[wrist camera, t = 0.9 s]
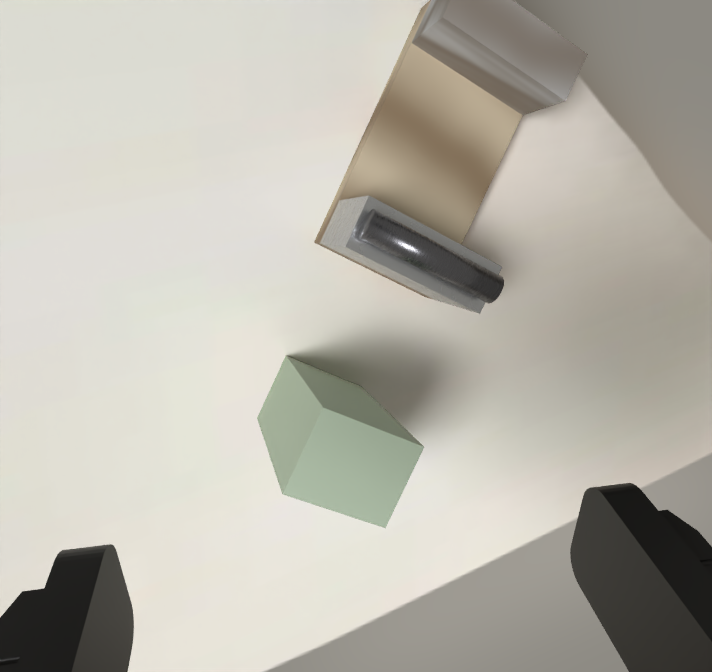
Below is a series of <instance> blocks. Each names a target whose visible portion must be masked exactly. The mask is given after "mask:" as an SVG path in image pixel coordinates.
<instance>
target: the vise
mask: <svg viewBox="0 0 712 672" xmlns="http://www.w3.org/2000/svg"><path fill="white" fill-rule="evenodd" d="M586 57H587V54H586V53H585V52H584V51H582V50H581V49H579V48H578V47H577V46H575V45H574V44H573V43H571V42H570V41H569V40H567V39H566V38H564V37H563V36H562V35H560V34H559V33H558V32H556V31H555V30H553V29H552V28H551V27H549V26H548V25H547V24H545V23H544V22H542V21H541V20H540V19H538V18H537V17H536V16H534V15H533V14H531V13H530V12H529V11H527V10H526V9H525V8H523V7H522V6H520V5H519V4H518V3H516V2H515V1H514V0H430V1H429V2H428V3H426V4H425V5H424V6H423V7H422V8H421V10H420V12H419V15H418V17H417V19H416V21H415V23H414V25H413V28H412V30H411V32H410V34H409V36H408V39H407V41H406V43H405V45H404V47H403V50H402V52H401V54H400V56H399V58H398V60H397V63H396V65H395V67H394V69H393V71H392V74H391V76H390V78H389V80H388V82H387V84H386V87H385V89H384V91H383V93H382V95H381V98H380V100H379V102H378V104H377V106H376V108H375V111H374V113H373V115H372V117H371V119H370V122H369V124H368V126H367V128H366V130H365V133H364V135H363V137H362V139H361V141H360V143H359V146H358V148H357V150H356V152H355V154H354V157H353V159H352V161H351V163H350V165H349V167H348V170H347V172H346V174H345V176H344V178H343V181H342V183H341V185H340V187H339V189H338V191H337V194H336V196H335V198H334V200H333V202H332V205H331V207H330V209H329V211H328V213H327V216H326V218H325V220H324V222H323V224H322V226H321V229H320V231H319V233H318V235H317V237H316V240H315V242H314V243H316V244H319V245H321V246H323V247H325V248H327V249H329V250H331V251H333V252H335V253H337V254H339V255H341V256H343V257H345V258H347V259H349V260H351V261H353V262H355V263H357V264H359V265H361V266H363V267H365V268H367V269H369V270H372V271H374V272H376V273H378V274H380V275H382V276H384V277H386V278H388V279H390V280H392V281H394V282H396V283H398V284H400V285H402V286H404V287H406V288H408V289H410V290H412V291H414V292H416V293H418V294H420V295H422V296H425V297H427V298H430V297H428V296H426V295H424V294H422V293H420V292H418V291H416V290H414V289H412V288H410V287H408V286H406V285H404V284H402V283H400V282H398V281H396V280H394V279H392V278H390V277H388V276H385V275H383V274H381V273H379V272H377V271H375V270H373V269H371V268H369V267H367V266H365V265H363V264H361V263H359V262H357V261H355V260H353V259H351V258H349V257H347V256H345V255H343V254H341V253H339V252H337V251H335V250H333V249H331V248H329V247H327V246H324V245H322V244H320V242H321V239H322V237H323V235H324V233H325V231H326V229H327V226H328V224H329V222H330V220H331V218H332V215H333V213H334V211H335V209H336V207H337V205H338V202H339V200H344V199H350V198H356V197H362V196H368V195H369V196H371V197H373V198H375V199H377V200H379V201H381V202H382V203H384V204H386V205H388V206H390V207H392V208H394V209H395V210H397V211H399V212H401V213H403V214H405V215H407V216H408V217H410V218H412V219H414V220H416V221H418V222H420V223H422V224H423V225H425V226H427V227H429V228H431V229H433V230H435V231H436V232H438V233H440V234H442V235H444V236H446V237H448V238H449V239H451V240H453V241H455V242H457V243H459V244H462V242H463V240H464V238H465V236H466V234H467V232H468V229H469V227H470V225H471V223H472V221H473V219H474V217H475V215H476V212H477V210H478V208H479V206H480V204H481V202H482V200H483V198H484V196H485V193H486V191H487V189H488V187H489V185H490V183H491V181H492V179H493V177H494V174H495V172H496V170H497V168H498V166H499V164H500V162H501V160H502V158H503V155H504V153H505V151H506V149H507V147H508V145H509V143H510V141H511V138H512V136H513V134H514V132H515V130H516V128H517V126H518V124H519V122H520V119H521V117H522V115H525V114H528V113H531V112H534V111H537V110H540V109H543V108H546V107H549V106H552V105H555V104H558V103H561V102H564V101H566V99H567V97H568V95H569V92H570V90H571V88H572V86H573V84H574V82H575V80H576V78H577V76H578V74H579V71H580V69H581V67H582V65H583V63H584V61H585V59H586ZM431 299H432V298H431Z"/></svg>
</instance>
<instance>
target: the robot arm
mask: <svg viewBox="0 0 712 672" xmlns="http://www.w3.org/2000/svg"><path fill="white" fill-rule="evenodd" d="M570 553H571V563H572V568H573V572H574V575H575V578H576V579H577V582H578V584H579V586H580V588H581V589H582V591H583V593H584V595H585V596H586V598H587V600H588V601H589V603H590V605H591V607H592V608H593V610H594V611H595V614H596V615H597V617H598V619H599V620H600V622H601V624H602V626H603V627H604V629H605V631H606V633H607V634H608V636H609V638H610V639H611V641H612V643H613V645H614V646H615V648H616V650H617V651H618V653H619V655H620V657H621V658H622V660H623V662H624V664H625V665H626V667H627V669H628V670H629V672H712V547H711V546H710V545H709V543H708V542H707V541H706V540H705V539H704V538H703V536H702V535H701V534H700V533H699V532H698V531H697V530H695V529H694V528H693V527H691V526H690V525H689V524H687V523H686V522H684V521H683V520H681V519H680V518H678V517H677V516H675V515H674V514H673V513H671V512H669V511H668V510H662V511H658V510H657V509H656V507H655V506H654V505H653V504H652V503H651V501H650V500H649V499H648V498H647V497H646V495H645V494H644V493H643V492H642V491H641V490H640V489H639V488H638V487H637V486H636V485H634V484H631V483H626V484H617V485H609V486H601V487H593V488H589V489H587V490H586V491H585V493H584V496H583V500H582V504H581V508H580V512H579V516H578V520H577V524H576V528H575V532H574V536H573V541H572V545H571V552H570ZM133 631H134V620H133V609H132V604H131V601H130V597H129V594H128V590H127V587H126V583H125V580H124V576H123V573H122V569H121V566H120V562H119V559H118V555H117V552H116V549H115V547H114V546H113V545H111V544H110V545H102V546H94V547H86V548H77V549H69V550H62V551H61V552H59V554H58V555H57V557H56V559H55V561H54V564H53V566H52V569H51V572H50V575H49V577H48V580H47V583H46V586H45V588H44V589H38V590H31V591H23V592H22V593H21V594H20V595H19V596H18V597H17V599H16V600H15V601H14V602H13V603H12V604H11V606H10V607H9V608H8V609H7V610H6V612H5V613H4V614H3V615H2V616H1V618H0V672H127V671H128V666H129V660H130V655H131V650H132V643H133Z"/></svg>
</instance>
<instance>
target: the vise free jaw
mask: <svg viewBox="0 0 712 672" xmlns="http://www.w3.org/2000/svg"><path fill="white" fill-rule="evenodd" d="M320 244H322V245H324V246H327V247H329V248H331V249H333V250H335V251H337V252H339V253H341V254H343V255H345V256H347V257H349V258H351V259H353V260H355V261H357V262H359V263H361V264H363V265H365V266H367V267H369V268H371V269H373V270H375V271H377V272H379V273H381V274H383V275H385V276H388V277H390V278H392V279H394V280H396V281H398V282H400V283H402V284H404V285H406V286H408V287H410V288H412V289H414V290H416V291H418V292H420V293H422V294H424V295H426V296H428V297H430V298H432V299H434V300H437V301H440V302H443V303H447V304H450V305H453V306H456V307H460V308H463V309H466V310H469V311H473V312H476V313H479V314H480V312H481V310H482V308H483V306H484V304H485V302H486V303H492V302H493V301H495V300H496V299H497V298H498V296H499V295H500V293H501V291H502V289H503V286H504V279H503V277H501V276H499V273H500V271H501V268H502V267H501V266H500V265H498V264H496V263H494V262H492V261H490V260H488V259H487V258H485V257H483V256H481V255H479V254H477V253H475V252H474V251H472V250H470V249H468V248H466V247H464V246H462V245H461V244H459V243H457V242H455V241H453V240H451V239H449V238H448V237H446V236H444V235H442V234H440V233H438V232H436V231H435V230H433V229H431V228H429V227H427V226H425V225H423V224H422V223H420V222H418V221H416V220H414V219H412V218H410V217H408V216H407V215H405V214H403V213H401V212H399V211H397V210H395V209H394V208H392V207H390V206H388V205H386V204H384V203H382V202H381V201H379V200H377V199H375V198H373V197H371V196H369V195H368V196H362V197H356V198H350V199H344V200H339V202H338V205H337V207H336V209H335V211H334V213H333V215H332V218H331V220H330V222H329V224H328V226H327V229H326V231H325V233H324V235H323V237H322V239H321V242H320Z"/></svg>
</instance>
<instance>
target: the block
mask: <svg viewBox="0 0 712 672" xmlns="http://www.w3.org/2000/svg"><path fill="white" fill-rule="evenodd" d="M257 419H258V422H259V425H260V428H261V431H262V434H263V437H264V440H265V443H266V446H267V449H268V452H269V455H270V458H271V461H272V464H273V467H274V470H275V473H276V476H277V479H278V482H279V485H280V488H281V491H282V494H284V495H287V496H290V497H293V498H296V499H299V500H302V501H305V502H308V503H311V504H314V505H317V506H320V507H323V508H326V509H329V510H332V511H335V512H338V513H341V514H344V515H347V516H350V517H353V518H356V519H359V520H362V521H365V522H368V523H371V524H374V525H378V526H381V527H384V528H386V526H387V524H388V521H389V519H390V517H391V515H392V513H393V511H394V509H395V507H396V505H397V503H398V501H399V499H400V496H401V494H402V492H403V490H404V488H405V486H406V484H407V482H408V480H409V478H410V476H411V473H412V471H413V469H414V467H415V465H416V463H417V461H418V459H419V457H420V455H421V453H422V451H423V448H424V446H423V445H422V444H421V443H419V442H418V441H417V440H416V439H415V438H414V437H413V436H412V435H411V434H410V433H409V432H408V431H407V430H406V429H405V428H404V427H403V426H402V425H401V424H400V423H399V422H398V421H397V420H396V419H394V418H393V417H392V416H391V415H390V414H389V413H388V412H387V411H386V410H385V409H384V408H383V407H382V406H381V405H380V404H379V403H378V402H377V401H376V400H375V399H374V398H373V397H372V396H370V395H369V394H368V393H367V392H366V391H365V390H364V389H363V388H362V387H361V386H358V385H356V384H353V383H351V382H349V381H346V380H344V379H341V378H339V377H337V376H334V375H332V374H329V373H327V372H325V371H322V370H320V369H317V368H315V367H312V366H310V365H308V364H305V363H303V362H300V361H298V360H296V359H293V358H291V357H288V356H286V357H285V359H284V361H283V363H282V365H281V367H280V370H279V372H278V374H277V376H276V378H275V381H274V383H273V385H272V387H271V389H270V391H269V394H268V396H267V398H266V400H265V402H264V404H263V407H262V409H261V411H260V413H259V415H258V417H257Z"/></svg>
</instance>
